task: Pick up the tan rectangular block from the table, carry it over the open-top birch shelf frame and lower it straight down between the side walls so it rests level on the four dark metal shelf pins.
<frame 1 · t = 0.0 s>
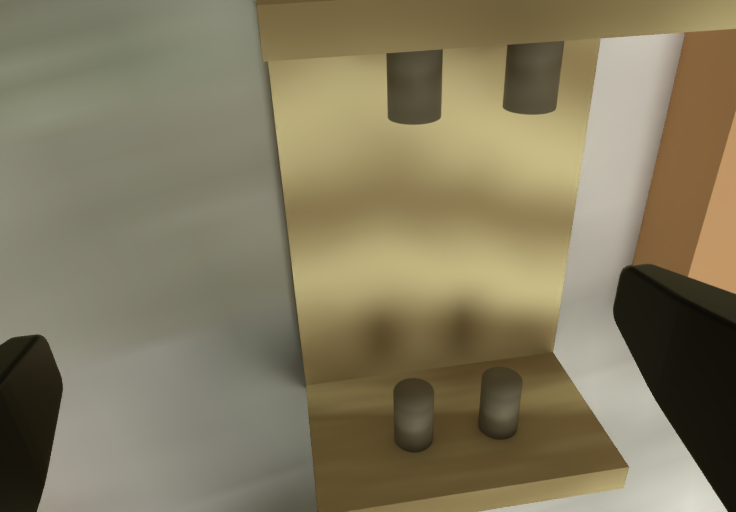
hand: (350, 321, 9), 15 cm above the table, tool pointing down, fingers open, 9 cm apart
shelf frame: (429, 206, 25), on the table
tan rectangular block: (708, 174, 27), on the table
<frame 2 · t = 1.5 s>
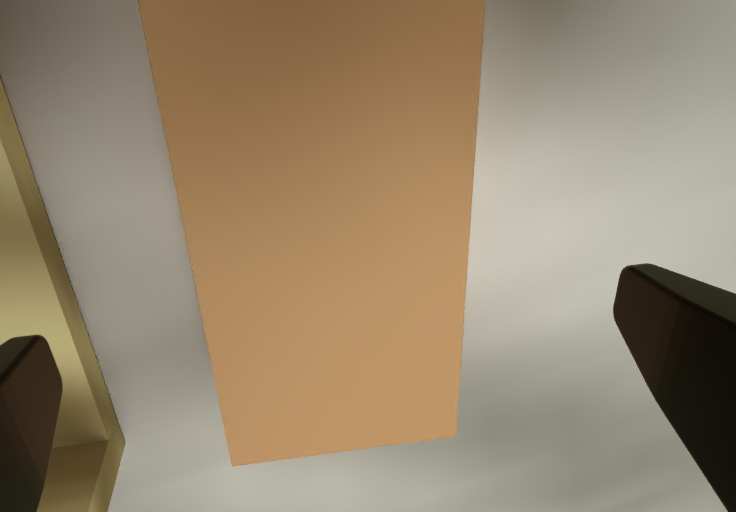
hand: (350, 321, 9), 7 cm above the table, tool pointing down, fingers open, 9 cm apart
tan rectangular block: (317, 149, 16), on the table
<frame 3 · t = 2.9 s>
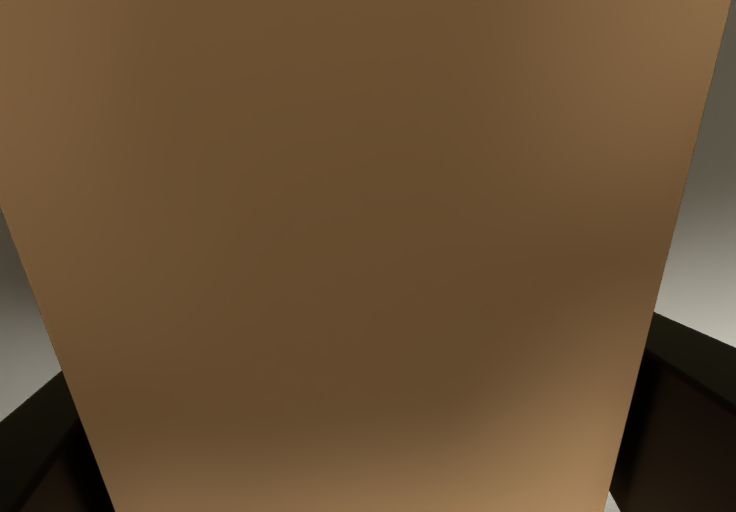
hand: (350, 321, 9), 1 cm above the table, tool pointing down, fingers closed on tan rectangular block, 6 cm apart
tan rectangular block: (341, 280, 10), on the table, touching gripper
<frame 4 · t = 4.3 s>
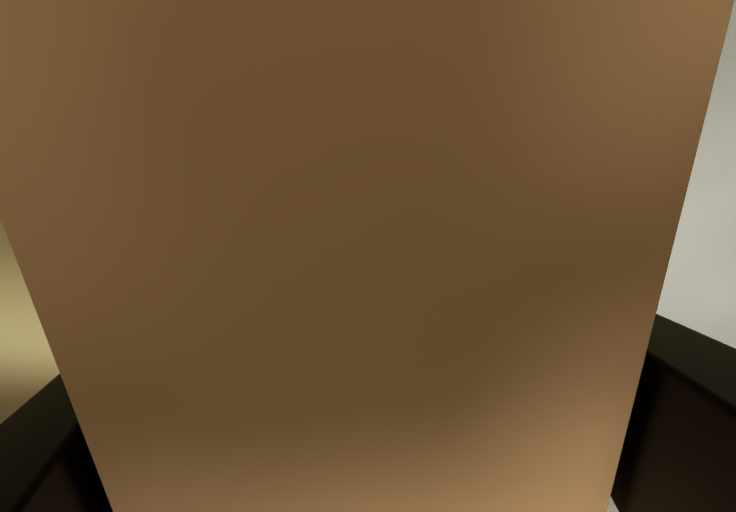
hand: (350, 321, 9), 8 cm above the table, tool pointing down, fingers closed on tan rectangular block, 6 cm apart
tan rectangular block: (341, 280, 10), point 7 cm above the table, touching gripper
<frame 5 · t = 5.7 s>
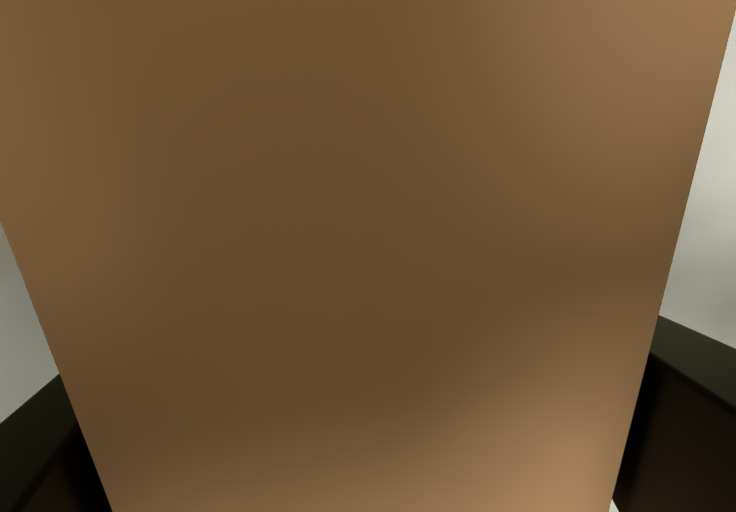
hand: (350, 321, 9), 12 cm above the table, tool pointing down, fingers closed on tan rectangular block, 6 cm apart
tan rectangular block: (342, 279, 10), point 11 cm above the table, touching gripper
when the fingers open (8 cm above the table, at t = 7.6 s): tan rectangular block stays where it is, resting on shelf frame.
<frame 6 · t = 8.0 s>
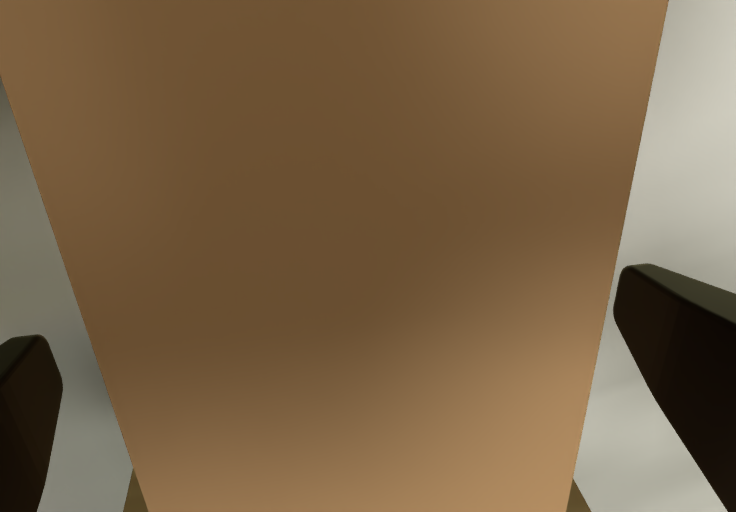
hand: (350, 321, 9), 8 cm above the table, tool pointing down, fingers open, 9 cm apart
shelf frame: (313, 150, 16), on the table
tan rectangular block: (335, 254, 11), point 6 cm above the table, touching shelf frame
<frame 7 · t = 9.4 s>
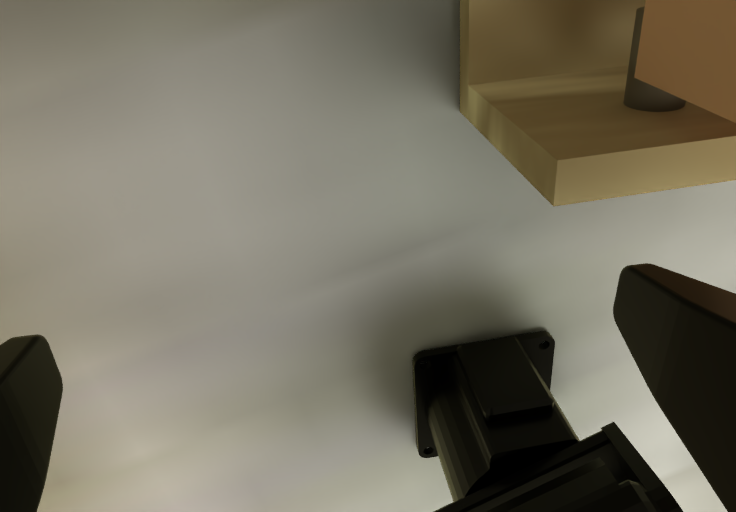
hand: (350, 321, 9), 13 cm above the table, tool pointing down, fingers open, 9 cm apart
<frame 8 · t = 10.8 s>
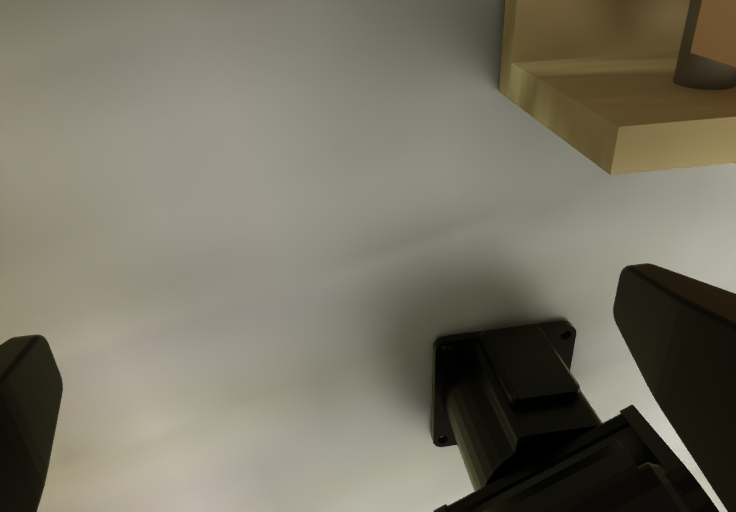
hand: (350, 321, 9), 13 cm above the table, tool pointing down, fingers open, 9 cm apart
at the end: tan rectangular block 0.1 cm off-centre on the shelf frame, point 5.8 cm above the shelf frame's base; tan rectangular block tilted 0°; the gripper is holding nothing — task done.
